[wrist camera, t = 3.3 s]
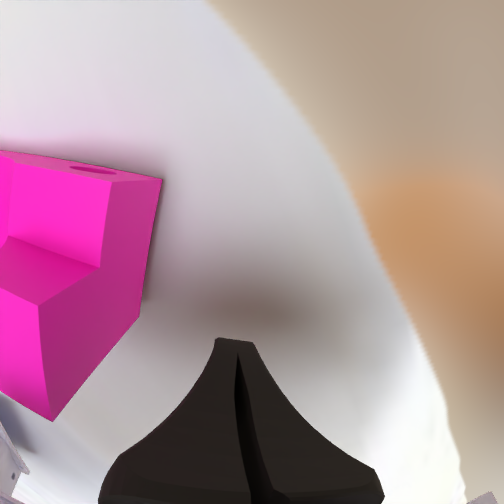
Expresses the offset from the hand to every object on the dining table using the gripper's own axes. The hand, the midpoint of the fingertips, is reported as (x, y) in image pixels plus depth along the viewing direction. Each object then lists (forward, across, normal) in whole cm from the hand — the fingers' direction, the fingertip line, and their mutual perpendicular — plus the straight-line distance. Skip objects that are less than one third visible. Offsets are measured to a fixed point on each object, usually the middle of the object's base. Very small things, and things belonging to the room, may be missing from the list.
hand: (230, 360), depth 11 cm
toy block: (+4, +11, -2) cm, 13 cm away
